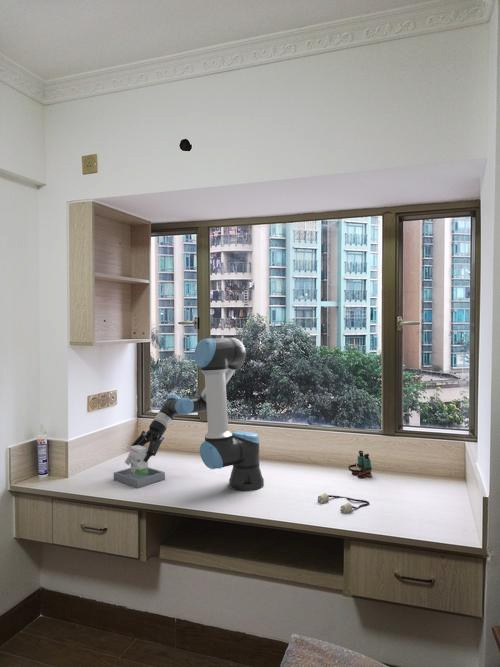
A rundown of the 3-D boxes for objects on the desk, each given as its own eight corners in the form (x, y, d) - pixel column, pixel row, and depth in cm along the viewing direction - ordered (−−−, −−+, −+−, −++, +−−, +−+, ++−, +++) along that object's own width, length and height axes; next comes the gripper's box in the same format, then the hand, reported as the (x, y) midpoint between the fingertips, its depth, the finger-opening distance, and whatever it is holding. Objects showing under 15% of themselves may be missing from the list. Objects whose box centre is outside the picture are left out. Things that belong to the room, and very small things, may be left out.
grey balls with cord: (343, 494, 215) (343, 486, 215) (373, 506, 202) (373, 497, 202) (315, 502, 207) (315, 494, 206) (344, 515, 193) (344, 506, 193)
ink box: (148, 473, 236) (148, 447, 236) (138, 475, 233) (138, 449, 232) (139, 469, 243) (139, 444, 242) (130, 471, 240) (129, 446, 239)
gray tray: (164, 479, 237) (164, 472, 237) (137, 488, 226) (137, 480, 226) (140, 472, 249) (140, 465, 249) (113, 480, 238) (113, 472, 238)
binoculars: (344, 453, 240) (362, 449, 244) (346, 475, 241) (364, 471, 244) (355, 458, 232) (373, 453, 235) (357, 481, 232) (376, 476, 236)
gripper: (179, 432, 241) (152, 474, 230) (150, 425, 256) (123, 465, 244) (170, 422, 237) (142, 465, 226) (141, 416, 251) (113, 456, 240)
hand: (132, 465), depth 235 cm, fingers closed on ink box, 9 cm apart
